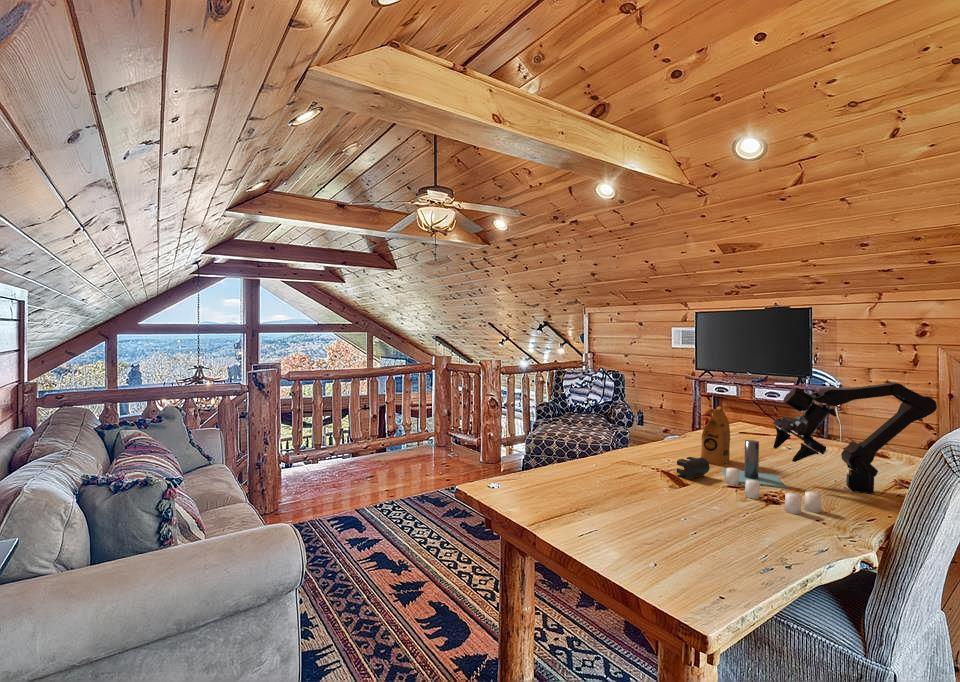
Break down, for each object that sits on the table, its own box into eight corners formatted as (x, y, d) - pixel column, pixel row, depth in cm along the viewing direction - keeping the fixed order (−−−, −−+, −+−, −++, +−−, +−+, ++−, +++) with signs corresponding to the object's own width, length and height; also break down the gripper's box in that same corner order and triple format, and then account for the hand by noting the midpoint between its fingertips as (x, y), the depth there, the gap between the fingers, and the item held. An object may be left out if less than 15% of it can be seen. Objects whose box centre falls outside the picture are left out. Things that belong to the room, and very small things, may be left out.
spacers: (750, 480, 167) (750, 466, 167) (824, 512, 139) (824, 495, 139) (715, 482, 165) (716, 468, 164) (783, 515, 136) (784, 498, 136)
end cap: (693, 482, 164) (694, 463, 164) (675, 476, 170) (676, 458, 170) (709, 477, 170) (710, 459, 170) (691, 472, 176) (692, 454, 176)
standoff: (760, 477, 168) (761, 441, 168) (754, 479, 166) (755, 443, 166) (747, 474, 172) (748, 439, 172) (742, 476, 170) (742, 441, 169)
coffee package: (696, 461, 190) (698, 407, 190) (708, 455, 199) (709, 404, 198) (722, 466, 183) (724, 411, 182) (733, 460, 192) (735, 407, 191)
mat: (774, 475, 173) (774, 474, 173) (786, 488, 160) (786, 486, 160) (720, 470, 178) (721, 468, 178) (728, 481, 165) (728, 480, 165)
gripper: (776, 398, 170) (749, 432, 173) (817, 421, 152) (786, 459, 155) (797, 411, 172) (771, 445, 175) (840, 435, 155) (809, 472, 158)
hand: (783, 454), depth 166 cm, fingers open, 9 cm apart
